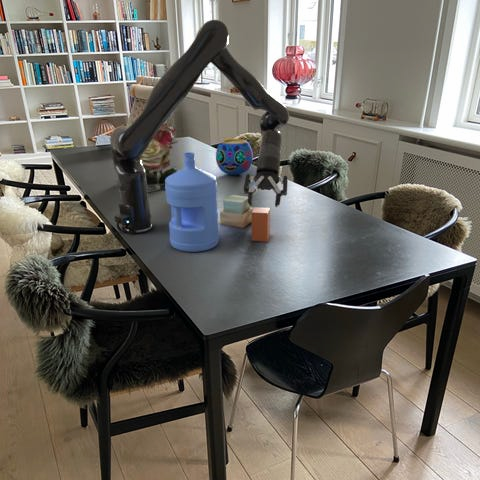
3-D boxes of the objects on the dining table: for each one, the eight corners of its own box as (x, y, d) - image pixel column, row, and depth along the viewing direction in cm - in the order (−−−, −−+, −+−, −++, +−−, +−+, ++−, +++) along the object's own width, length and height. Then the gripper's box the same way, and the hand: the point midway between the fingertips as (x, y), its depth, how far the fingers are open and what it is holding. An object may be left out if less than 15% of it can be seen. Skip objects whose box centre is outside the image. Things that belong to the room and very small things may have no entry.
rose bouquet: (115, 181, 223) (105, 110, 208) (177, 174, 232) (172, 106, 216) (124, 196, 202) (114, 119, 187) (192, 188, 211) (187, 114, 196)
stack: (243, 227, 168) (242, 203, 164) (220, 224, 172) (219, 200, 167) (253, 219, 175) (254, 196, 171) (231, 216, 178) (231, 193, 174)
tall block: (267, 241, 157) (267, 213, 152) (251, 240, 158) (251, 212, 153) (269, 236, 161) (270, 208, 156) (254, 235, 162) (254, 207, 157)
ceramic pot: (211, 177, 226) (210, 144, 218) (221, 168, 241) (220, 137, 233) (248, 179, 222) (248, 145, 215) (256, 170, 237) (256, 138, 229)
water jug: (194, 231, 166) (188, 146, 151) (229, 241, 157) (226, 152, 143) (160, 245, 155) (150, 154, 141) (195, 257, 147) (189, 162, 132)
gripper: (246, 154, 160) (240, 198, 156) (289, 155, 158) (284, 200, 154) (249, 166, 167) (243, 209, 164) (290, 168, 165) (285, 211, 161)
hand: (263, 205), depth 159 cm, fingers open, 8 cm apart
